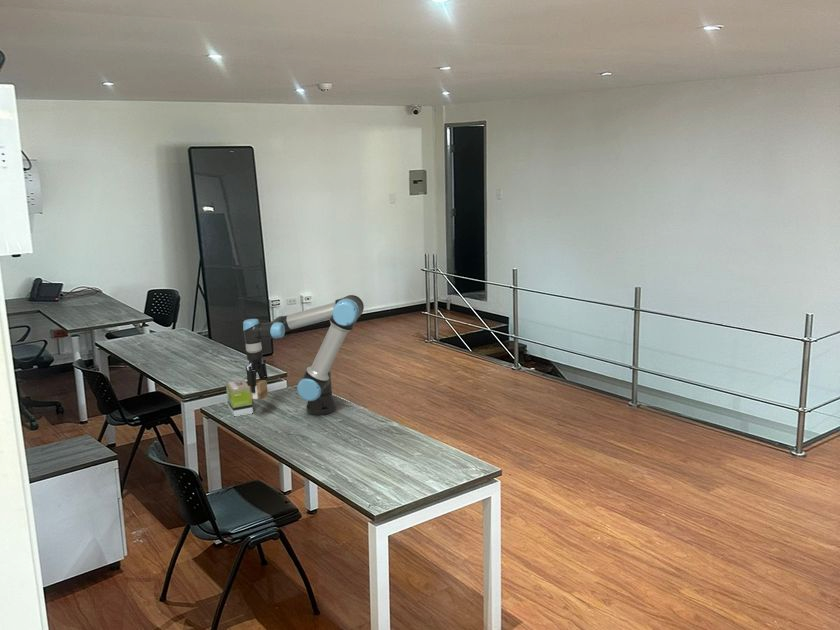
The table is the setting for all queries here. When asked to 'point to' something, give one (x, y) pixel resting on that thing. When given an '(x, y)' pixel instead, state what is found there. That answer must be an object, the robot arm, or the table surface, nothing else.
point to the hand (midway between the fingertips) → (259, 396)
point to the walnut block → (260, 389)
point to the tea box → (239, 398)
